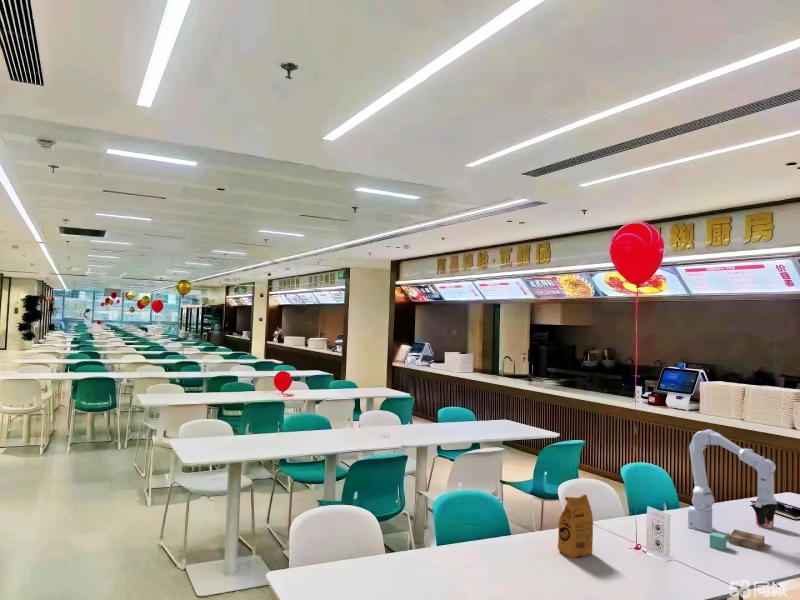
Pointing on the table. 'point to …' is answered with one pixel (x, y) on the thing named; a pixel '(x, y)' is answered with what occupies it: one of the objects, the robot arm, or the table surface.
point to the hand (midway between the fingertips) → (765, 522)
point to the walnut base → (746, 539)
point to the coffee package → (576, 528)
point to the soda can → (767, 523)
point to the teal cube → (717, 541)
